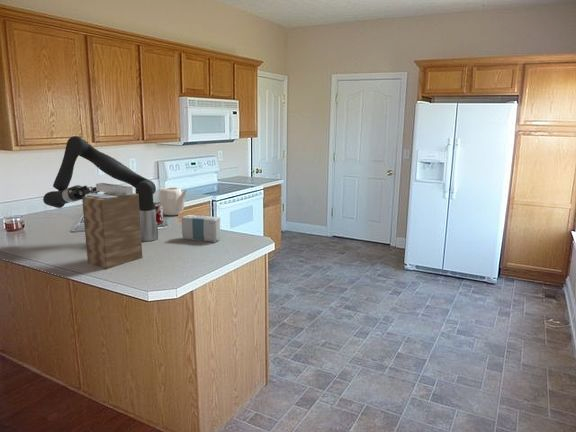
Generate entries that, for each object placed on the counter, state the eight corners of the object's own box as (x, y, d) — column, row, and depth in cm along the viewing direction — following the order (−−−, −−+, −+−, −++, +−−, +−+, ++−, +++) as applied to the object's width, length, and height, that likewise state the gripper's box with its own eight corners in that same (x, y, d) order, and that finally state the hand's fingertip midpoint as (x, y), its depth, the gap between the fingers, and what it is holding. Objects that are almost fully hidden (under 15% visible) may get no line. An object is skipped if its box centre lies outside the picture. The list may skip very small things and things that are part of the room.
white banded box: (181, 239, 250) (180, 205, 246) (189, 236, 258) (187, 202, 253) (215, 243, 244) (214, 207, 240) (221, 239, 252) (221, 205, 247)
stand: (87, 263, 207) (81, 196, 200) (123, 253, 224) (119, 190, 217) (107, 268, 200) (101, 199, 193) (142, 257, 217) (138, 193, 210)
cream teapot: (179, 218, 303) (178, 191, 299) (152, 214, 316) (150, 187, 312) (195, 214, 316) (194, 188, 312) (168, 210, 329) (167, 185, 325)
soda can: (152, 224, 285) (151, 206, 282) (152, 222, 291) (151, 204, 288) (163, 224, 286) (162, 205, 284) (163, 221, 293) (162, 204, 290)
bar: (96, 190, 215) (95, 183, 214) (102, 190, 218) (102, 182, 217) (126, 195, 204) (126, 187, 203) (132, 194, 207) (132, 186, 206)
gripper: (87, 200, 234) (107, 194, 226) (62, 201, 221) (82, 195, 214) (84, 186, 234) (105, 180, 226) (59, 186, 222) (80, 180, 214)
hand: (94, 187), depth 220 cm, fingers open, 8 cm apart
